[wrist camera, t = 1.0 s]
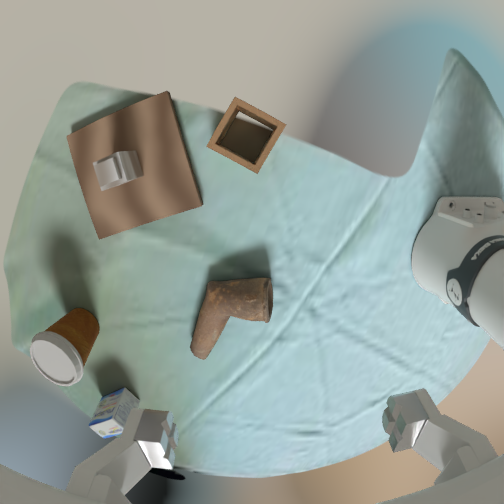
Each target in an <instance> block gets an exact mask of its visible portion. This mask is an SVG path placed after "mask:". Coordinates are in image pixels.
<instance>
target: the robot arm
mask: <svg viewBox="0 0 504 504" xmlns="http://www.w3.org/2000/svg"><path fill="white" fill-rule="evenodd" d="M450 203H451V206H450V207H449V204H450ZM412 271H413V275H414V278H415V280H416V282H417V283H418V284H419V286H420V287H421V288H423V289H424V290H426V291H428V292H430V293H433V294H435V295H436V296H438V298H439V299H440V300H441V301H442V302H444V303H445V304H450V305H452V306H453V307H455V308H456V309H457V310H458V311H459V312H460V313H461V314H462V315H463V316H464V317H465V318H466V319H467V320H468V321H469V322H471V323H472V324H473V325H475V326H478V327H481V328H482V329H483V330H484V331H485V332H486V333H487V334H488V335H489V336H490V337H491V338H492V339H493V340H494V341H495V342H496V343H497V344H498V345H499V346H500V347H501V348H502V349H503V350H504V202H503V201H502V199H500V198H498V197H441V198H440V199H439V200H438V202H437V204H436V207H435V209H434V212H433V215H432V216H431V218H430V219H429V220H428V221H427V223H426V224H425V225H424V226H423V228H422V229H421V231H420V232H419V234H418V236H417V239H416V241H415V244H414V247H413V252H412ZM387 405H388V407H387V408H386V409H385V410H384V413H383V416H382V423H383V427H384V430H385V432H386V433H388V434H389V435H390V438H389V443H390V445H391V447H392V450H393V452H398V451H401V450H405V449H410V448H412V449H413V450H414V451H416V452H417V453H418V454H419V455H421V456H422V457H424V458H425V459H426V460H427V461H429V462H430V463H431V464H432V465H434V466H435V467H436V468H438V469H439V470H440V471H442V472H441V474H440V475H439V476H438V478H437V479H436V480H435V482H434V484H435V486H432V487H429V488H427V489H424V490H421V491H418V492H415V493H412V494H409V495H405V496H402V497H399V498H395V499H392V500H388V501H384V502H381V503H376V504H504V454H502V455H501V456H499V457H498V455H497V453H496V452H495V450H494V448H493V447H492V445H491V443H490V442H489V440H488V438H487V437H486V436H485V435H483V434H481V433H479V432H477V431H475V430H473V429H471V428H469V427H467V426H465V425H463V424H462V423H459V422H457V421H456V420H454V419H452V418H450V417H448V416H446V415H441V414H440V412H439V411H438V409H437V407H436V405H435V404H434V402H433V400H432V399H431V397H430V395H429V394H428V392H427V391H426V389H424V388H423V389H419V390H415V391H410V392H406V393H402V394H397V395H393V396H390V397H389V398H388V400H387ZM173 418H174V417H173V415H172V412H170V411H159V410H150V409H140V408H133V409H132V410H131V411H130V413H129V416H128V418H127V421H126V424H125V426H124V429H123V432H122V434H121V437H120V438H116V439H115V440H113V441H112V442H110V443H109V444H108V445H106V446H105V447H103V448H102V449H101V450H99V451H98V452H96V453H95V454H93V455H92V456H91V457H89V458H88V459H87V460H85V461H83V462H82V463H80V464H79V465H77V466H76V467H75V469H74V471H73V474H72V476H71V479H70V481H69V483H68V486H67V488H66V491H63V490H60V489H57V488H54V487H52V486H49V485H47V484H44V483H41V482H39V481H37V480H34V479H32V478H29V477H27V476H25V475H22V474H20V473H18V472H16V471H13V470H12V469H9V468H8V467H6V466H3V465H1V464H0V504H131V503H130V501H129V500H128V499H127V498H126V497H125V496H124V495H125V494H126V493H127V492H128V491H129V490H130V489H131V488H132V487H133V486H134V485H135V484H136V483H137V482H138V481H139V480H140V479H141V478H142V477H143V476H144V475H145V474H146V473H147V472H148V471H149V470H150V469H151V467H155V468H166V469H173V464H174V459H175V454H174V452H173V450H174V449H175V448H176V447H177V444H178V429H177V426H176V424H174V423H173Z"/></svg>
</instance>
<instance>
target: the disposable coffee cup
mask: <svg viewBox="0 0 504 504" xmlns="http://www.w3.org/2000/svg"><path fill="white" fill-rule="evenodd" d="M98 334H99V324H98V322H97V320H96V318H95V317H94V316H93V315H92V314H91V313H90V312H89V311H87V310H85V309H82V308H75V309H73V310H72V311H71V312H69V313H68V314H66V315H65V316H64V317H62V318H61V319H60V320H59V321H57V322H56V323H54V324H53V325H52V326H50V327H49V328H48V329H46V330H45V331H44V332H40V333H38V334H36V335H35V336H34V337H33V339H32V344H31V347H30V355H31V358H32V361H33V363H34V365H35V366H36V367H37V369H38V370H39V372H40V373H41V374H42V375H44V376H45V377H46V378H47V379H48V380H50V381H51V382H53V383H55V384H57V385H61V386H71V385H73V384H74V383H76V382H79V380H80V379H81V378H82V376H83V368H84V365H85V363H86V361H87V358H88V356H89V353H90V351H91V349H92V347H93V344H94V342H95V340H96V338H97V336H98Z"/></svg>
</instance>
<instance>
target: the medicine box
mask: <svg viewBox="0 0 504 504" xmlns="http://www.w3.org/2000/svg"><path fill="white" fill-rule="evenodd" d="M139 403H140V401H139V400H138V399H137V398H136V397H135V396H134V395H133V394H132V393H131V392H130V391H129V390H127V389H126V388H125V387H124V388H122V389H120V390H118V391H116V392H113V393H111V394H109V395H106V396H104V397H102V398H101V400H100V402H99V404H98V407H97V409H96V411H95V413H94V415H93V417H92V419H91V421H90V424H89V426H90V427H91V428H92V429H93V430H94V431H95V432H96V433H97V434H99V435H100V436H101V437H103V438H108V437H112V436H115V435H119V434H122V432H123V429H124V426H125V424H126V421H127V418H128V416H129V413H130V411H131V410H132V409H133V408H138V406H139Z"/></svg>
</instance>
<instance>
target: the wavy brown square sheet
mask: <svg viewBox="0 0 504 504" xmlns="http://www.w3.org/2000/svg"><path fill="white" fill-rule="evenodd" d="M67 140H68V144H69V148H70V152H71V155H72V159H73V162H74V166H75V169H76V173H77V176H78V179H79V183H80V186H81V189H82V192H83V195H84V198H85V201H86V204H87V207H88V210H89V213H90V216H91V219H92V222H93V224H94V227H95V230H96V233H97V235H98V238H99V239H102V238H105V237H108V236H111V235H114V234H116V233H119V232H122V231H125V230H128V229H131V228H134V227H137V226H140V225H143V224H146V223H149V222H152V221H155V220H159V219H162V218H165V217H168V216H171V215H174V214H177V213H181V212H184V211H187V210H190V209H194V208H197V207H200V206H202V205H203V202H202V199H201V196H200V193H199V190H198V186H197V183H196V180H195V177H194V173H193V170H192V167H191V164H190V160H189V157H188V154H187V150H186V147H185V144H184V140H183V137H182V134H181V130H180V127H179V123H178V120H177V116H176V113H175V109H174V106H173V102H172V99H171V96H170V93H169V92H168V91H165V92H163V93H160V94H157V95H155V96H152V97H150V98H147V99H145V100H142V101H140V102H137V103H135V104H133V105H130V106H128V107H126V108H123V109H121V110H119V111H116V112H114V113H112V114H110V115H108V116H106V117H103V118H101V119H99V120H97V121H95V122H93V123H91V124H89V125H87V126H85V127H83V128H81V129H79V130H77V131H75V132H73V133H72V134H70V135H68V136H67Z"/></svg>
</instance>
